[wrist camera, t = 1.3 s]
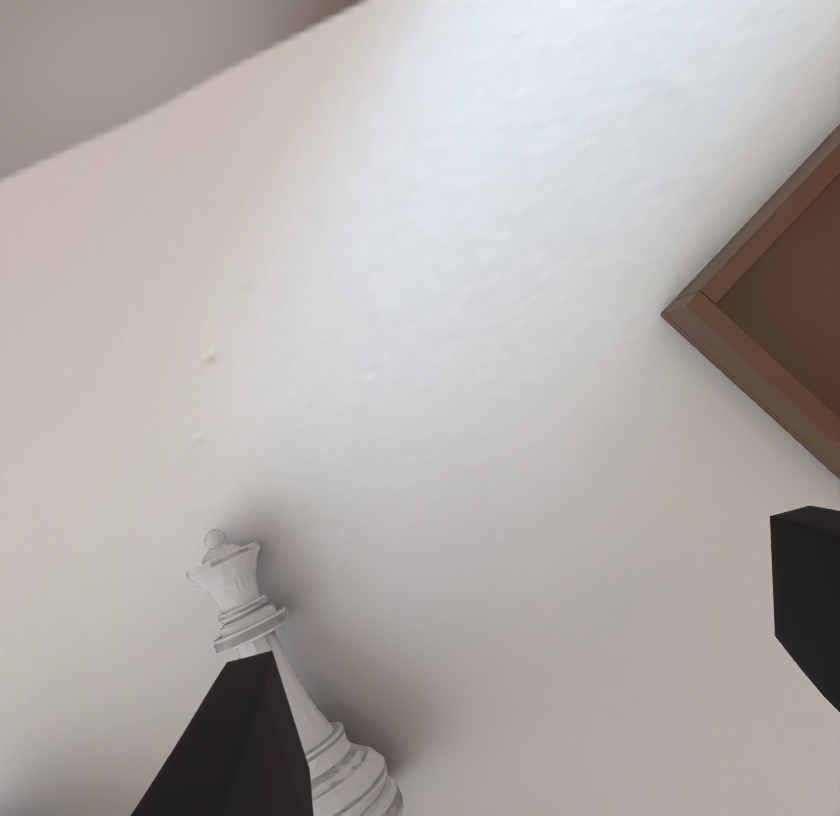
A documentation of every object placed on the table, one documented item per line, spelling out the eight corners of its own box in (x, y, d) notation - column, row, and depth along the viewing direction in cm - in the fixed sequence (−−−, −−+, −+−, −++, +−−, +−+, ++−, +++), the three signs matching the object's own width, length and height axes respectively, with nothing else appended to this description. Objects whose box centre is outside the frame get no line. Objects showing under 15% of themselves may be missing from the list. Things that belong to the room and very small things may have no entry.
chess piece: (308, 820, 23) (196, 543, 24) (422, 780, 22) (299, 494, 23) (240, 912, 19) (108, 572, 20) (377, 869, 18) (229, 512, 19)
